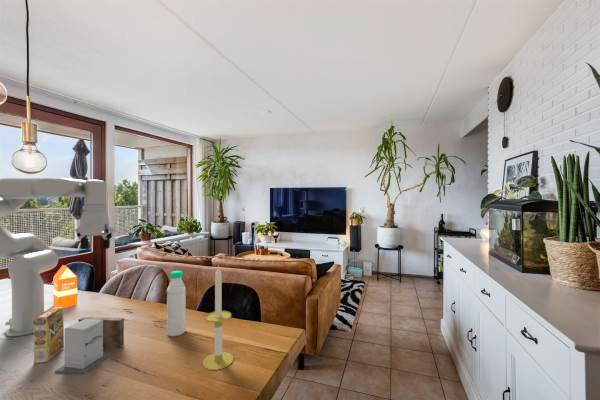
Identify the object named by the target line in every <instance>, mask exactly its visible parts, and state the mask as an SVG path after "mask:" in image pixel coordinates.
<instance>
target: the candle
mask: <svg viewBox="0 0 600 400" xmlns="http://www.w3.org/2000/svg"><path fill="white" fill-rule="evenodd" d="M222 273H223V272H222V271H221V269H220V266H219V264H218V265H217V268H216V271H215V273H214V277H215V278H214V280H215V281H214V282H215V283H214V296H215V298H214V311H211V312H209V313H207V314H206V315H205V316H204V320H205V321H206V322H208V323H214V353H212V354H209V355H207V356H206V357H205V358H204V359H203V361H202V367H203V366H204V367H203V368H204V369H205V368H206V369H205V370H208V371H214V370H216V371H220V370H219V369H222V370H224V369H226V368H228V367H229V366H231V365H232V364H233V362H234V356H233V355H232V354H231V353H230V352H225V351H223V322H225V321H227V320H230V318H231V317H232V313H231V312H230V311H227V310H222V309H223V308H222V305H223V304H222V303H223V302H222V301H223V300H222V297H223V296H222V295H223V294H222V293H223V292H222V290H223V289H222V286H223V285H222V284H223V283H222V281H223V280H222V276H223V275H222ZM231 363H232V364H231ZM230 364H231V365H230ZM227 366H228V367H227ZM225 367H226V368H225ZM223 368H224V369H223Z"/></svg>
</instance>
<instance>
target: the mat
mask: <svg viewBox="0 0 600 400" xmlns="http://www.w3.org/2000/svg"><path fill="white" fill-rule="evenodd" d="M110 355H111V354H110V353H103V356H102V357H101V358H99V359H97V360H96V361H94V362H93V363H91V364H90V365H88V366H86V367H85V368H84V369H78V368H70V367H64V364H63V365H61V366H60V367H59V368H57V369H55V370H54V373H55V374H76V375H78V374H79V375H86V374H87V373H88V372H90V371H91V370H92V369H94V368H96V367H97V366H98V365H99V364H101V363H102V362H103V361H104V360H106V359H107V358H108V357H110Z"/></svg>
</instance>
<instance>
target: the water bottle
mask: <svg viewBox="0 0 600 400" xmlns="http://www.w3.org/2000/svg"><path fill="white" fill-rule="evenodd" d="M183 274H184V273H183V270H174V271H171V272H170V273H169V279H170V282H169V285H168V287H167V288H166V294H167V296H166V314H167V317H166V324H167V325H166V326H167V327H166V334H167V336H169V337H178V336H181V335H183V334H185V332H186V330H187V325H186V324H187V323H186V318H187V317H186V311H187V310H186V309H187V307H186V306H187V300H186V298H187V297H186V291H187V289H186V288H187V287H186V286H185V284H184V281H183V280H182V278H183Z"/></svg>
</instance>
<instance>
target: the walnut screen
mask: <svg viewBox="0 0 600 400" xmlns="http://www.w3.org/2000/svg"><path fill="white" fill-rule="evenodd" d="M84 319H95V320H103V348H114V347H115V348H116V349H117V348H121V347H123V346H124V345H125V339H124V338H125V337H124V336H125V335H124V334H125V332H124V331H125V325H124V323H125V317H98V316H96V317H95V316H94V317H93V316H82V317H79V318H78V322H80V321H82V320H84ZM78 322H77V323H78Z"/></svg>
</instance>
